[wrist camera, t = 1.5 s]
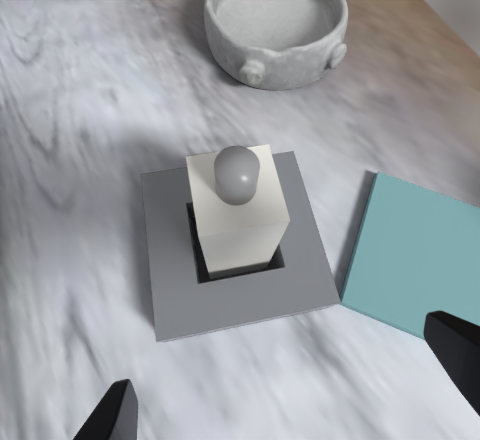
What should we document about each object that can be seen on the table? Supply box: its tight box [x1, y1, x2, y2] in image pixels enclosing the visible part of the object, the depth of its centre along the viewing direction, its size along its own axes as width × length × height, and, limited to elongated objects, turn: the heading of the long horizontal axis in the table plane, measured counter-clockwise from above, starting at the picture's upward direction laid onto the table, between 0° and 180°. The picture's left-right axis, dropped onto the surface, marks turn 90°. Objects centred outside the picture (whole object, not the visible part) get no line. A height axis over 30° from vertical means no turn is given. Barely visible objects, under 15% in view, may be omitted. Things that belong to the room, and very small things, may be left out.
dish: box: [204, 0, 348, 90], centre depth 31 cm, size 14×14×5 cm
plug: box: [186, 144, 290, 279], centre depth 19 cm, size 4×4×12 cm
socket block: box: [141, 151, 341, 342], centre depth 23 cm, size 12×12×3 cm
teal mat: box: [340, 172, 480, 340], centre depth 24 cm, size 12×12×1 cm
